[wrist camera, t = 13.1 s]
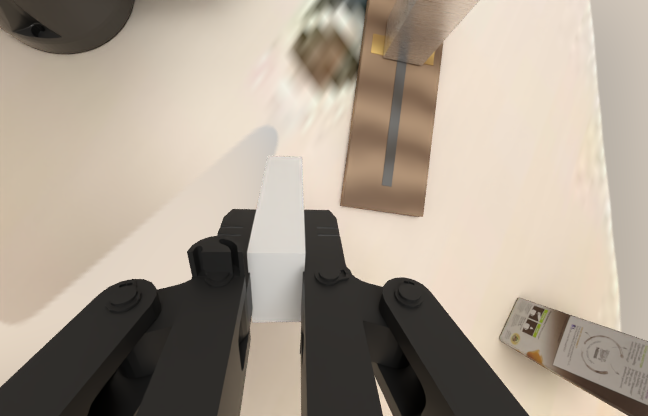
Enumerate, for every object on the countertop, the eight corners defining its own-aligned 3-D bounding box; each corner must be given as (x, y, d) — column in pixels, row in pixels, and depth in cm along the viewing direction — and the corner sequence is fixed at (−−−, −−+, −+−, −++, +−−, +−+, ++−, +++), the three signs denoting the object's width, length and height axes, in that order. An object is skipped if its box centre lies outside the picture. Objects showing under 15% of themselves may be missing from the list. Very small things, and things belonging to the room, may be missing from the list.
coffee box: (496, 340, 39) (644, 425, 23) (517, 296, 39) (676, 347, 23) (553, 372, 39) (734, 476, 23) (573, 328, 40) (763, 400, 24)
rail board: (417, 216, 38) (423, 216, 36) (340, 205, 37) (342, 204, 35) (442, 5, 39) (448, -4, 38) (368, -12, 38) (372, -22, 37)
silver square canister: (423, 68, 37) (499, -15, 24) (380, 59, 36) (433, -32, 23) (429, 24, 37) (506, -81, 24) (385, 15, 37) (441, -99, 23)
